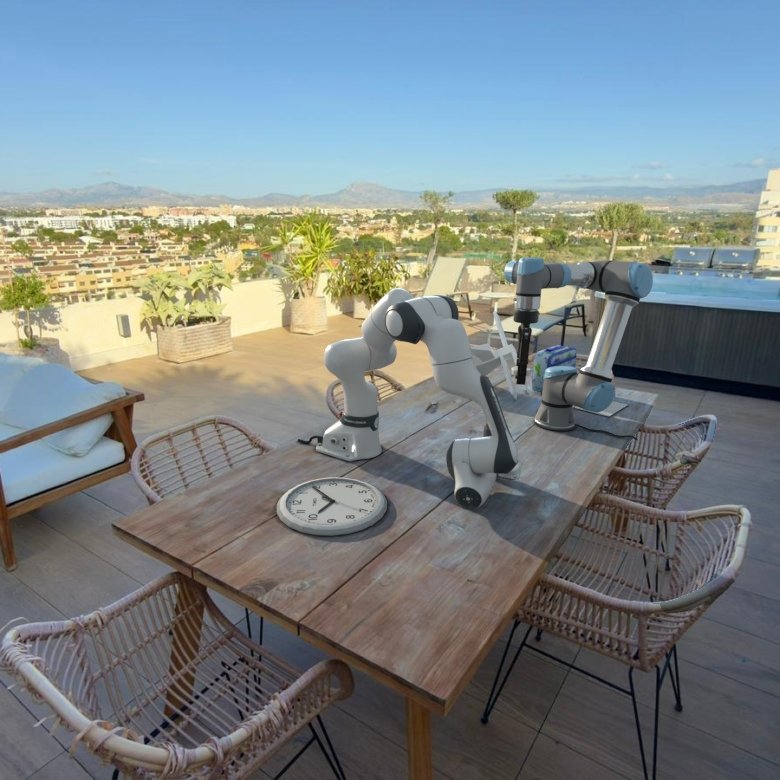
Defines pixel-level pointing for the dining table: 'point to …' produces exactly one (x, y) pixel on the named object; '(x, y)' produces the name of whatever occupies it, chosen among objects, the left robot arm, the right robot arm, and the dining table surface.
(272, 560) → the dining table surface
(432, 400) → the fork
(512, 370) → the lid
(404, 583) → the dining table surface
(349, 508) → the wall clock
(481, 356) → the white plastic object
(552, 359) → the lunch box
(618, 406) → the invitation card
